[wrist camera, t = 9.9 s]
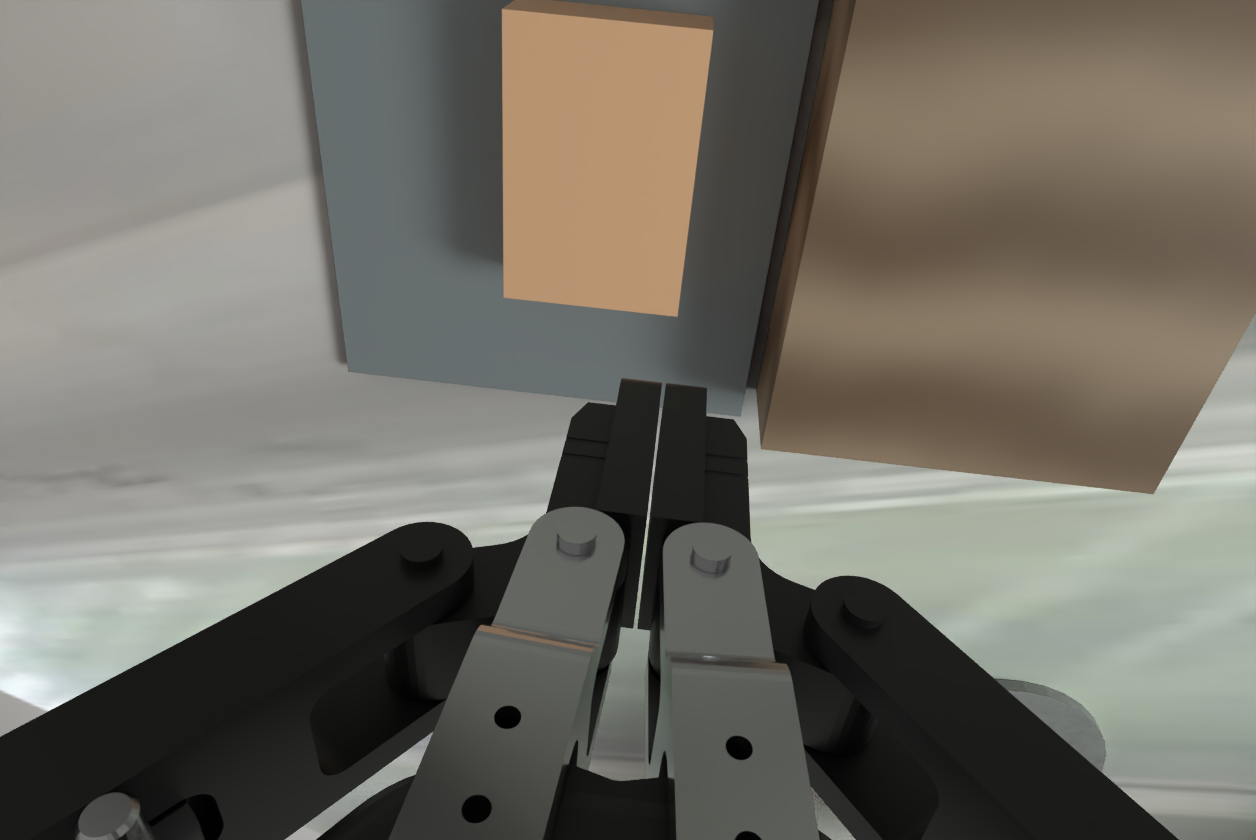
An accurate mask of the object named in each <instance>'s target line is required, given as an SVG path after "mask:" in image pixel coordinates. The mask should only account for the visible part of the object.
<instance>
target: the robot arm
mask: <svg viewBox="0 0 1256 840" xmlns="http://www.w3.org/2000/svg"><path fill="white" fill-rule="evenodd" d="M661 389H662V383H661V382H653V381H644V380H636V379H627V378H621V382H620V387H619V393H618V398H617V403H616V406H615V405H606V404H598V403H590V402H588V403H587V404H586V405H585V406H584V407H583V408H582V409H581V410H579V411H578V412H577V413H576V414H575V415H574V416H573V417H572V419H571V422H570V426H569V430H568V434H567V438H566V441H565V445H564V449H563V452H562V457H561V460H560V464H559V467H558V471H557V475H556V479H555V482H554V486H553V490H552V494H551V497H550V501H549V505H548V509H547V512H546V514H544V515H543V516H541V517H540V518H539V519H538V520H537V521H536V522H535V523H534V524H533V525H532V527H531V529H530V531H529V534H528V535H526V536H524V537H523V538H520V539H518V540H515V541H512V542H509V543H505V544H499V545H492V546H483V547H475V548H472V545H471V542H470V541H469V539H468V538H467V537H466V536H465V535H464V534H463V533H462V532H461V531H459V530H458V529H456V528H454V527H452V526H449V525H446V524H442V523H436V522H418V523H413V524H408V525H405V526H402V527H399V528H397V529H395V530H393V531H391V532H389V533H387V534H385V535H383V536H381V537H379V538H377V539H375V540H374V541H372V542H370V543H368V544H366V545H364V546H362V547H360V548H358V549H356V550H355V551H353V552H351V553H349V554H347V555H345V556H343V557H341V558H339V559H337V560H336V561H334V562H332V563H330V564H328V565H326V566H324V567H322V568H320V569H318V570H317V571H315V572H313V573H311V574H309V575H307V576H305V577H303V578H301V579H299V580H298V581H296V582H294V583H292V584H290V585H288V586H286V587H284V588H282V589H280V590H279V591H277V592H275V593H273V594H271V595H269V596H267V597H265V598H263V599H261V600H260V601H258V602H256V603H254V604H252V605H250V606H248V607H246V608H244V609H242V610H240V611H239V612H237V613H235V614H233V615H231V616H229V617H227V618H225V619H223V620H221V621H220V622H218V623H216V624H214V625H212V626H210V627H208V628H206V629H204V630H202V631H201V632H199V633H197V634H195V635H193V636H191V637H189V638H187V639H185V640H183V641H182V642H180V643H178V644H176V645H174V646H172V647H170V648H168V649H166V650H164V651H163V652H161V653H159V654H157V655H155V656H153V657H151V658H149V659H147V660H145V661H144V662H142V663H140V664H138V665H136V666H134V667H132V668H130V669H128V670H126V671H125V672H123V673H121V674H119V675H117V676H115V677H113V678H111V679H109V680H107V681H105V682H104V683H102V684H100V685H98V686H96V687H94V688H92V689H90V690H88V691H86V692H85V693H83V694H81V695H79V696H77V697H75V698H73V699H71V700H69V701H67V702H66V703H64V704H62V705H60V706H58V707H56V708H54V709H52V710H50V711H48V712H47V713H45V714H43V715H41V716H39V717H37V718H36V719H33V720H31V721H30V722H28V723H26V724H24V725H22V726H20V727H18V728H16V729H14V730H12V731H11V732H9V733H7V734H5V735H3V736H1V737H0V840H284V839H286V838H287V837H289V836H290V835H291V834H293V833H294V832H296V831H297V830H298V829H300V828H301V827H302V826H304V825H305V824H307V823H308V822H309V821H311V820H312V819H313V818H315V817H316V816H318V815H319V814H320V813H322V812H323V811H324V810H326V809H327V808H329V807H330V806H331V805H333V804H334V803H335V802H337V801H338V800H340V799H341V798H342V797H344V796H345V795H346V794H348V793H349V792H351V791H352V790H353V789H355V788H356V787H357V786H359V785H360V784H362V783H363V782H364V781H366V780H367V779H368V778H370V777H371V776H373V775H374V774H375V773H377V772H378V771H379V770H381V769H382V768H384V767H385V766H386V765H388V764H389V763H390V762H392V761H393V760H395V759H396V758H397V757H399V756H400V755H401V754H403V753H404V752H406V751H407V750H408V749H410V748H411V747H412V746H414V745H415V744H417V743H418V742H419V741H421V740H422V739H423V738H425V737H426V736H428V735H429V734H430V733H432V732H433V731H434V732H433V734H432V736H431V739H430V741H429V744H428V746H427V748H426V751H425V753H424V756H423V758H422V760H421V763H420V765H419V768H418V770H417V772H416V775H414V776H411V777H408V778H405V779H403V780H401V781H399V782H397V783H395V784H393V785H391V786H389V787H387V788H385V789H383V790H382V791H380V792H379V793H377V794H375V795H374V796H372V797H370V798H369V799H367V800H366V801H365V802H363V803H362V804H361V805H359V806H358V807H357V808H355V809H354V810H353V811H352V812H350V813H349V814H348V815H347V816H345V817H344V818H343V819H342V820H340V821H339V822H338V823H337V824H335V825H334V826H333V827H331V828H330V829H329V830H328V831H326V832H325V833H324V834H323V835H321V836H320V837H319V838H318V839H316V840H831V839H830V838H829V837H827V836H826V835H825V834H823V833H822V832H820V831H819V830H818V827H817V821H816V816H815V810H814V804H813V798H812V792H811V787H812V788H813V789H814V790H815V792H816V793H817V794H818V795H819V796H820V797H821V799H822V800H823V801H824V802H825V803H826V805H827V806H828V807H829V808H830V809H831V810H832V812H833V813H834V814H835V815H836V816H837V818H838V819H839V820H840V821H841V822H842V824H843V825H844V826H845V827H846V828H847V829H848V831H849V832H850V833H851V834H852V835H853V837H854V838H855V839H856V840H1178V839H1177V838H1176V837H1175V836H1174V835H1173V834H1172V833H1170V832H1169V831H1168V830H1167V829H1166V828H1165V827H1164V826H1162V825H1161V824H1160V823H1159V822H1158V821H1157V820H1156V819H1154V818H1153V817H1152V816H1151V815H1150V814H1149V813H1148V812H1146V811H1145V810H1144V809H1143V808H1142V807H1141V806H1139V805H1138V804H1137V803H1136V802H1135V801H1134V800H1133V799H1131V798H1130V797H1129V796H1128V795H1127V794H1126V793H1125V792H1123V791H1122V790H1121V789H1120V788H1119V787H1118V786H1117V785H1115V784H1114V783H1113V782H1112V781H1111V780H1110V779H1109V778H1107V777H1106V776H1105V775H1104V774H1103V773H1102V772H1100V771H1099V770H1098V769H1097V768H1096V767H1095V766H1094V765H1092V764H1091V763H1090V762H1089V761H1088V760H1087V759H1086V758H1084V757H1083V756H1082V755H1081V754H1080V753H1079V752H1078V751H1076V750H1075V749H1074V748H1073V747H1072V746H1071V745H1070V744H1068V743H1067V742H1066V741H1065V740H1064V739H1063V738H1061V737H1060V736H1059V735H1058V734H1057V733H1056V732H1055V731H1053V730H1052V729H1051V728H1050V727H1049V726H1048V725H1047V724H1045V723H1044V722H1043V721H1042V720H1041V719H1040V718H1039V717H1037V716H1036V715H1035V714H1034V713H1033V712H1032V711H1031V710H1029V709H1028V708H1027V707H1026V706H1025V705H1024V704H1022V703H1021V702H1020V701H1019V700H1018V699H1017V698H1016V697H1014V696H1013V695H1012V694H1011V693H1010V692H1009V691H1008V690H1006V689H1005V688H1004V687H1003V686H1002V685H1001V684H1000V683H998V682H997V681H996V680H995V679H994V678H993V677H992V676H990V675H989V674H988V673H987V672H986V671H985V670H983V669H982V668H981V667H980V666H979V665H978V664H977V663H975V662H974V661H973V660H972V659H971V658H970V657H969V656H967V655H966V654H965V653H964V652H963V651H962V650H961V649H959V648H958V647H957V646H956V645H955V644H954V643H952V642H951V641H950V640H949V639H948V638H947V637H946V636H944V635H943V634H942V633H941V632H940V631H939V630H938V629H936V628H935V627H934V626H933V625H932V624H931V623H930V622H928V621H927V620H926V619H925V618H924V617H923V616H922V615H920V614H919V613H918V612H917V611H916V610H915V609H913V608H912V607H911V606H910V605H909V604H908V603H907V602H905V601H904V600H903V599H902V598H901V597H900V596H899V595H897V594H896V593H895V592H893V591H892V590H891V589H889V588H888V587H886V586H884V585H882V584H880V583H878V582H876V581H873V580H870V579H867V578H863V577H858V576H839V577H834V578H831V579H828V580H826V581H824V582H823V583H821V584H820V585H819V586H818V587H817V588H816V590H813V589H811V588H808V587H805V586H803V585H800V584H797V583H795V582H792V581H790V580H788V579H785V578H783V577H782V576H780V575H778V574H776V573H775V572H773V571H772V570H771V569H769V568H768V567H767V566H766V565H765V564H764V563H763V562H762V561H761V560H760V559H759V557H758V553H757V551H756V549H755V547H754V546H753V545H752V543H751V537H750V512H749V487H748V463H747V439H746V437H745V436H744V434H743V433H742V431H741V430H740V428H739V427H738V425H737V424H736V422H735V421H734V419H725V418H717V417H708V416H706V407H707V388H705V387H696V386H688V385H679V384H671V383H666V386H665V394H664V402H663V410H662V418H661V426H660V434H659V442H658V450H657V458H656V466H655V474H654V483H653V492H652V501H651V510H650V519H649V528H648V537H647V547H646V556H645V565H644V574H643V583H642V592H641V601H640V610H639V619H638V629H643V630H650V641H649V652H648V659H647V666H646V674H645V779H639V780H630V781H615V780H611V779H608V778H605V777H603V776H600V775H598V774H595V773H593V772H590V771H588V768H589V764H590V760H591V755H592V751H593V747H594V742H595V738H596V734H597V729H598V725H599V721H600V716H601V712H602V708H603V703H604V699H605V695H606V690H607V686H608V682H609V677H610V673H611V666H612V660H613V658H614V657H615V655H616V652H617V649H618V643H619V635H620V628H621V627H626V628H633V626H634V618H635V609H636V601H637V593H638V585H639V577H640V569H641V561H642V553H643V544H644V536H645V528H646V520H647V512H648V503H649V494H650V485H651V477H652V468H653V459H654V450H655V442H656V433H657V424H658V415H659V407H660V398H661ZM810 786H811V787H810Z"/></svg>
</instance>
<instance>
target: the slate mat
mask: <svg viewBox="0 0 1256 840" xmlns="http://www.w3.org/2000/svg"><path fill="white" fill-rule="evenodd" d="M513 1H514V0H301V6H302V14H303V21H304V29H305V37H306V45H307V53H308V60H309V68H310V76H311V84H312V92H313V100H314V107H315V115H316V123H317V131H318V139H319V147H320V154H321V162H322V170H323V178H324V186H325V193H326V201H327V209H328V217H329V225H330V233H331V240H332V248H333V256H334V264H335V272H336V279H337V287H338V295H339V303H340V311H341V319H342V326H343V334H344V342H345V350H346V358H347V366H348V372H355V373H364V374H372V375H381V376H390V377H399V378H407V379H416V380H425V381H434V382H443V383H451V384H460V385H469V386H478V387H486V388H495V389H504V390H513V391H521V392H530V393H539V394H548V395H556V396H565V397H574V398H583V399H591V400H600V401H609V402H617V398H618V393H619V387H620V382H621V378H627V379H636V380H644V381H653V382H661V383H662V389H661V398H660V407H661V408H663V402H664V394H665V386H666V383H671V384H679V385H688V386H696V387H705V388H707V407H706V413H714V414H723V415H732V416H741V410H742V405H743V400H744V394H745V389H746V384H747V379H748V373H749V368H750V363H751V357H752V352H753V347H754V342H755V336H756V331H757V326H758V320H759V315H760V310H761V305H762V299H763V294H764V289H765V283H766V278H767V273H768V268H769V262H770V257H771V252H772V246H773V241H774V236H775V231H776V225H777V220H778V215H779V209H780V204H781V199H782V194H783V188H784V183H785V178H786V172H787V167H788V162H789V157H790V151H791V146H792V141H793V135H794V130H795V125H796V120H797V114H798V109H799V104H800V98H801V93H802V88H803V83H804V77H805V72H806V67H807V61H808V56H809V51H810V45H811V40H812V35H813V30H814V24H815V19H816V14H817V8H818V3H819V0H554V1H564V2H574V3H584V4H594V5H604V6H614V7H624V8H634V9H643V10H653V11H663V12H673V13H683V14H693V15H703V16H713V38H712V46H711V54H710V62H709V70H708V78H707V86H706V94H705V102H704V110H703V118H702V126H701V133H700V141H699V149H698V157H697V165H696V173H695V181H694V189H693V197H692V205H691V213H690V221H689V229H688V237H687V245H686V253H685V261H684V269H683V277H682V285H681V293H680V300H679V308H678V316H677V317H675V316H666V315H656V314H647V313H638V312H629V311H620V310H611V309H602V308H593V307H584V306H575V305H566V304H557V303H548V302H539V301H529V300H520V299H511V298H504V278H503V110H502V9H503V8H504V7H505V6H507V5H508V4H510V3H511V2H513Z"/></svg>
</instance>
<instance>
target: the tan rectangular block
mask: <svg viewBox="0 0 1256 840" xmlns="http://www.w3.org/2000/svg"><path fill="white" fill-rule="evenodd" d="M712 38H713V16H703V15H693V14H683V13H673V12H663V11H653V10H643V9H634V8H624V7H614V6H604V5H594V4H584V3H574V2H564V1H554V0H514V1H513V2H511V3H510V4H508V5H507V6H505V7H504V8H503V9H502V110H503V278H504V298H511V299H520V300H529V301H539V302H548V303H557V304H566V305H575V306H584V307H593V308H602V309H611V310H620V311H629V312H638V313H647V314H656V315H666V316H675V317H677V316H678V308H679V300H680V293H681V285H682V277H683V269H684V261H685V253H686V245H687V237H688V229H689V221H690V213H691V205H692V197H693V189H694V181H695V173H696V165H697V157H698V149H699V141H700V133H701V126H702V118H703V110H704V102H705V94H706V86H707V78H708V70H709V62H710V54H711V46H712Z"/></svg>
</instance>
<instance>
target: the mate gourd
mask: <svg viewBox="0 0 1256 840" xmlns="http://www.w3.org/2000/svg"><path fill="white" fill-rule="evenodd" d="M995 680H996V681H997V682H998V683H1000V684H1001V685H1002V686H1003V687H1004V688H1005V689H1006V690H1008V691H1009V692H1010V693H1011V694H1012V695H1013V696H1014V697H1016V698H1017V699H1018V700H1019V701H1020V702H1021V703H1022V704H1024V705H1025V706H1026V707H1027V708H1028V709H1029V710H1031V711H1032V712H1033V713H1034V714H1035V715H1036V716H1037V717H1039V718H1040V719H1041V720H1042V721H1043V722H1044V723H1045V724H1047V725H1048V726H1049V727H1050V728H1051V729H1052V730H1053V731H1055V732H1056V733H1057V734H1058V735H1059V736H1060V737H1061V738H1063V739H1064V740H1065V741H1066V742H1067V743H1068V744H1070V745H1071V746H1072V747H1073V748H1074V749H1075V750H1076V751H1078V752H1079V753H1080V754H1081V755H1082V756H1083V757H1084V758H1086V759H1087V760H1088V761H1089V762H1090V763H1091V764H1092V765H1094V766H1095V767H1096V768H1097V769H1098V770H1099V771H1100V772H1101V771H1102V769H1103V766H1104V762H1105V757H1106V750H1105V741H1104V739H1103V736H1102V734H1101V732H1100V730H1099V728H1098V726H1097V724H1096V722H1095V720H1094V718H1093V716H1092V715H1091V714H1090V713H1089V712H1088V711H1087V710H1086V709H1085V708H1084V707H1083V706H1082V705H1081V704H1080V703H1078V702H1077V701H1075V700H1073V699H1072V698H1070V697H1069V696H1067V695H1066V694H1063V693H1061V692H1058V691H1056V690H1053V689H1051V688H1048V687H1046V686H1041V685H1037V684H1032V683H1028V682H1024V681H1013V680H1002V679H995Z"/></svg>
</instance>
